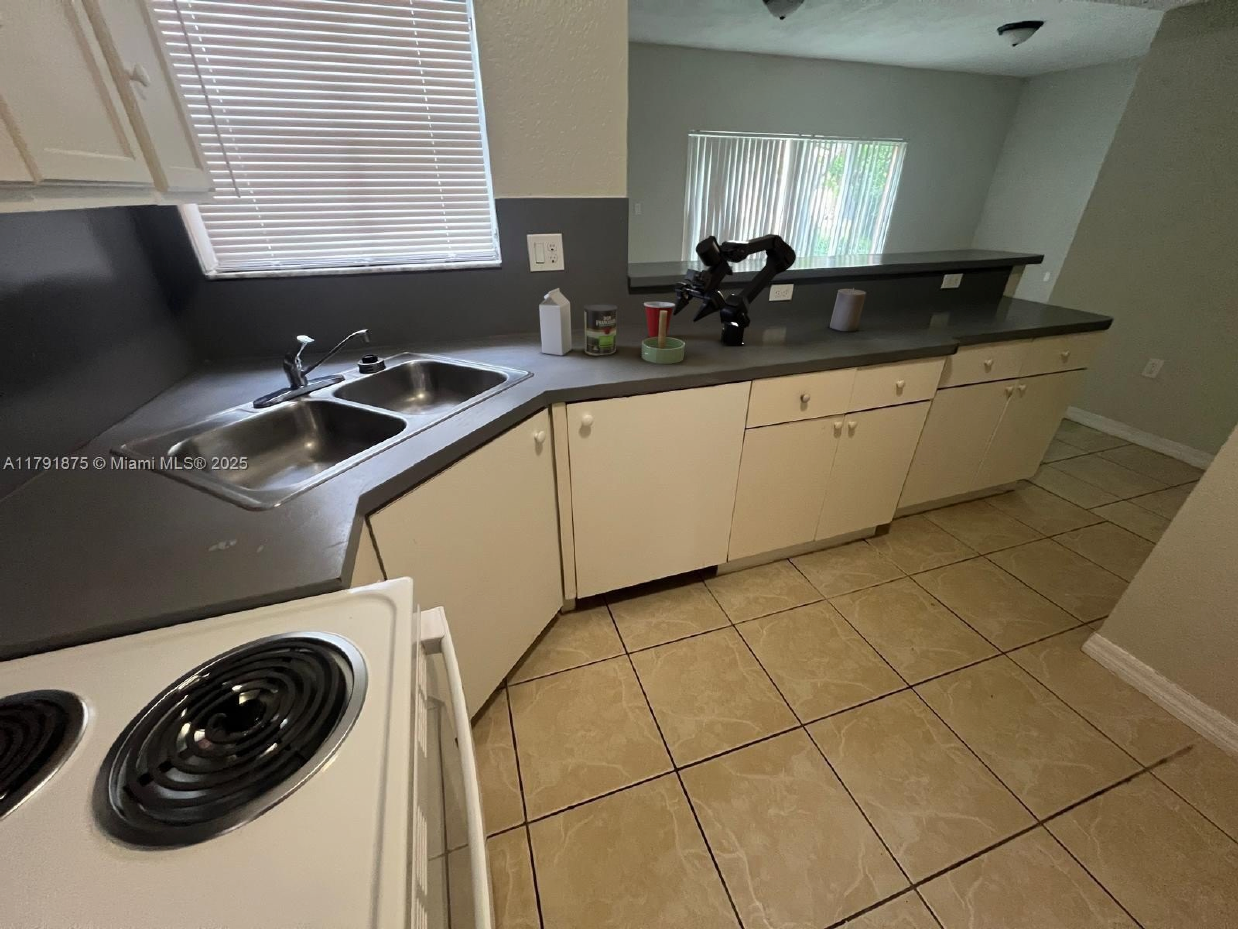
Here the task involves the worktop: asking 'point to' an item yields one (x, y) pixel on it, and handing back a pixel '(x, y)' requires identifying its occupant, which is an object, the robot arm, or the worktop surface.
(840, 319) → the pillar candle
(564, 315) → the milk carton
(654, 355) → the bowl
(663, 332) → the stick
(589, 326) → the coffee can
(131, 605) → the worktop surface
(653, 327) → the plastic cup
